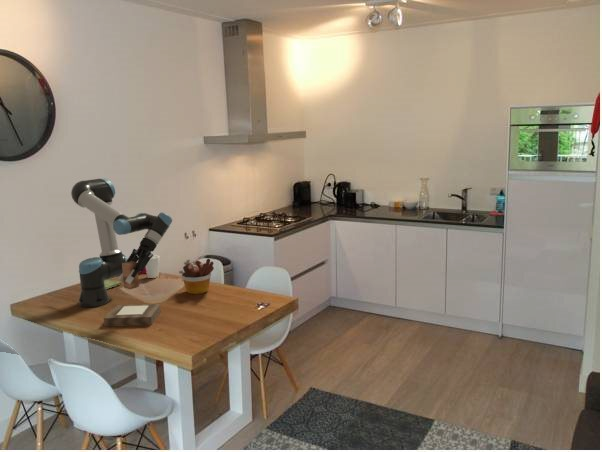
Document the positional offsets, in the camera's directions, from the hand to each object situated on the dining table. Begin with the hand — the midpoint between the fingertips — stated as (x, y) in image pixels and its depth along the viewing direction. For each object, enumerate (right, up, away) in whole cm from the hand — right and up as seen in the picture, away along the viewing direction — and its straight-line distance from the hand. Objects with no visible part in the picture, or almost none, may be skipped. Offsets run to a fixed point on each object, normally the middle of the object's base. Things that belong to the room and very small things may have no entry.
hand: (124, 281), depth 249 cm
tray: (+2, -19, +7) cm, 20 cm away
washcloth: (-33, -10, +61) cm, 70 cm away
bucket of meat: (+26, -11, +47) cm, 55 cm away
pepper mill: (-16, -3, +89) cm, 90 cm away
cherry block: (+2, -3, +4) cm, 5 cm away
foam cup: (-8, -6, +76) cm, 77 cm away
